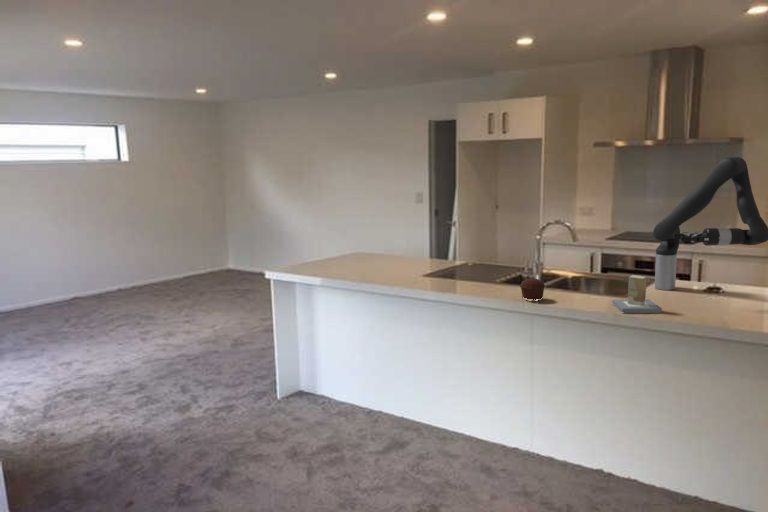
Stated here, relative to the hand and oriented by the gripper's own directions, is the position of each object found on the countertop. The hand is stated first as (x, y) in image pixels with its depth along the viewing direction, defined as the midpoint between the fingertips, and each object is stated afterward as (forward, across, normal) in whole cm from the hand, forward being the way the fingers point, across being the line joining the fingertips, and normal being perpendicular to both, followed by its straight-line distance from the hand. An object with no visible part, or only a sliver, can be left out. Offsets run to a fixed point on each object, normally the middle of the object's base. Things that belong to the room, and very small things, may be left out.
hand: (677, 237), depth 253 cm
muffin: (+60, -12, +30) cm, 68 cm away
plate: (+18, +6, +30) cm, 36 cm away
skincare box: (+18, +6, +28) cm, 34 cm away
